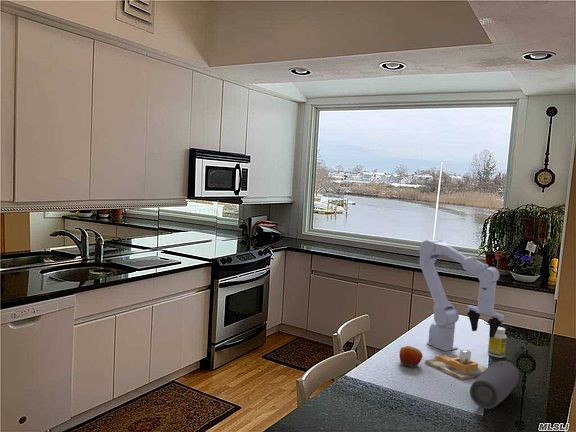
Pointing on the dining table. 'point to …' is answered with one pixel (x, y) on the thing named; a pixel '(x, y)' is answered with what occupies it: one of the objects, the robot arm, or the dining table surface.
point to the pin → (465, 357)
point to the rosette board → (453, 371)
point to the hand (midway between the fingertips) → (482, 333)
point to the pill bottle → (497, 343)
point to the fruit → (410, 356)
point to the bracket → (456, 364)
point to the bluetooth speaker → (494, 384)
